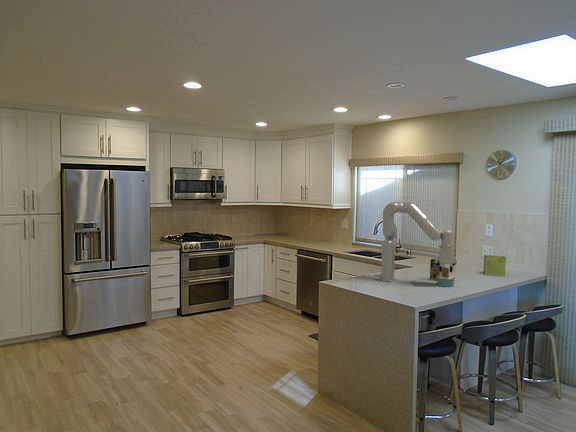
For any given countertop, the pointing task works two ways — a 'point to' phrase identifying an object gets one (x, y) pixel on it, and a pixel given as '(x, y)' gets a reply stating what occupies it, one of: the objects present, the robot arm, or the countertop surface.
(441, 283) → the bowl
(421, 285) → the mat
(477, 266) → the countertop surface
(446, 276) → the lid
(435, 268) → the coffee box
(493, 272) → the protein box
